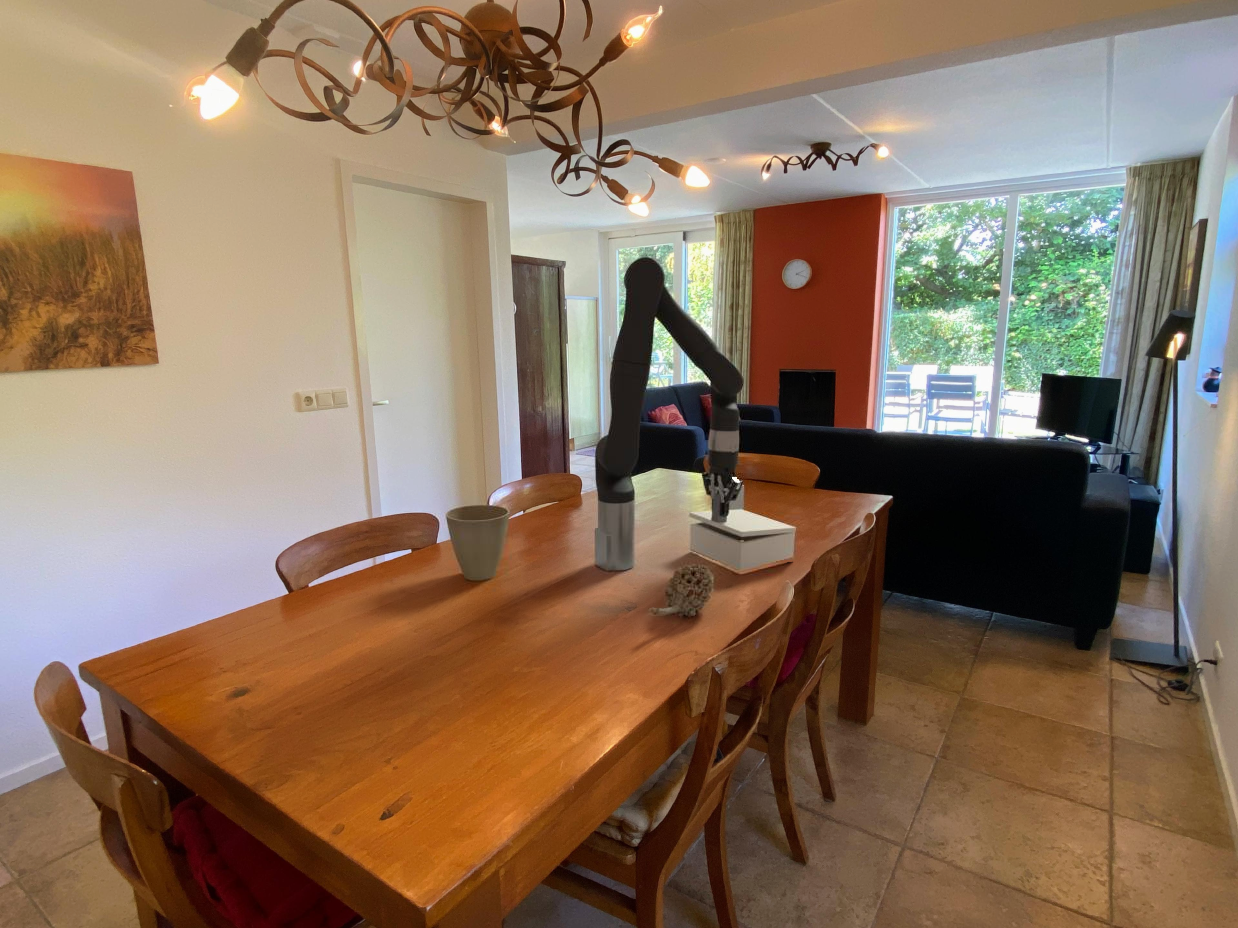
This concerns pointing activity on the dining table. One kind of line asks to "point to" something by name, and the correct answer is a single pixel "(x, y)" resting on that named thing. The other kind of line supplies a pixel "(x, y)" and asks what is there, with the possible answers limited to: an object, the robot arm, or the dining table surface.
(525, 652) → the dining table surface
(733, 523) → the mailer lid
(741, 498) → the supplement box
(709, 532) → the mailer box
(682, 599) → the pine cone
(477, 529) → the plant pot
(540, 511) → the dining table surface
